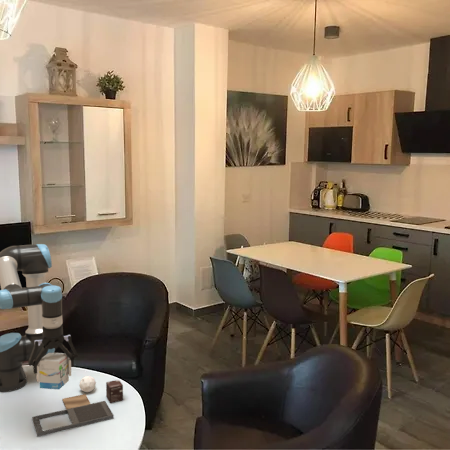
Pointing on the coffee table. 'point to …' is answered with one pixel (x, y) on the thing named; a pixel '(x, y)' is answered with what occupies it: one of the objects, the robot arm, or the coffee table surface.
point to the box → (114, 391)
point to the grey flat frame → (76, 417)
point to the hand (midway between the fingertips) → (54, 377)
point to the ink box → (53, 371)
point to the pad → (76, 401)
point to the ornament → (87, 384)
